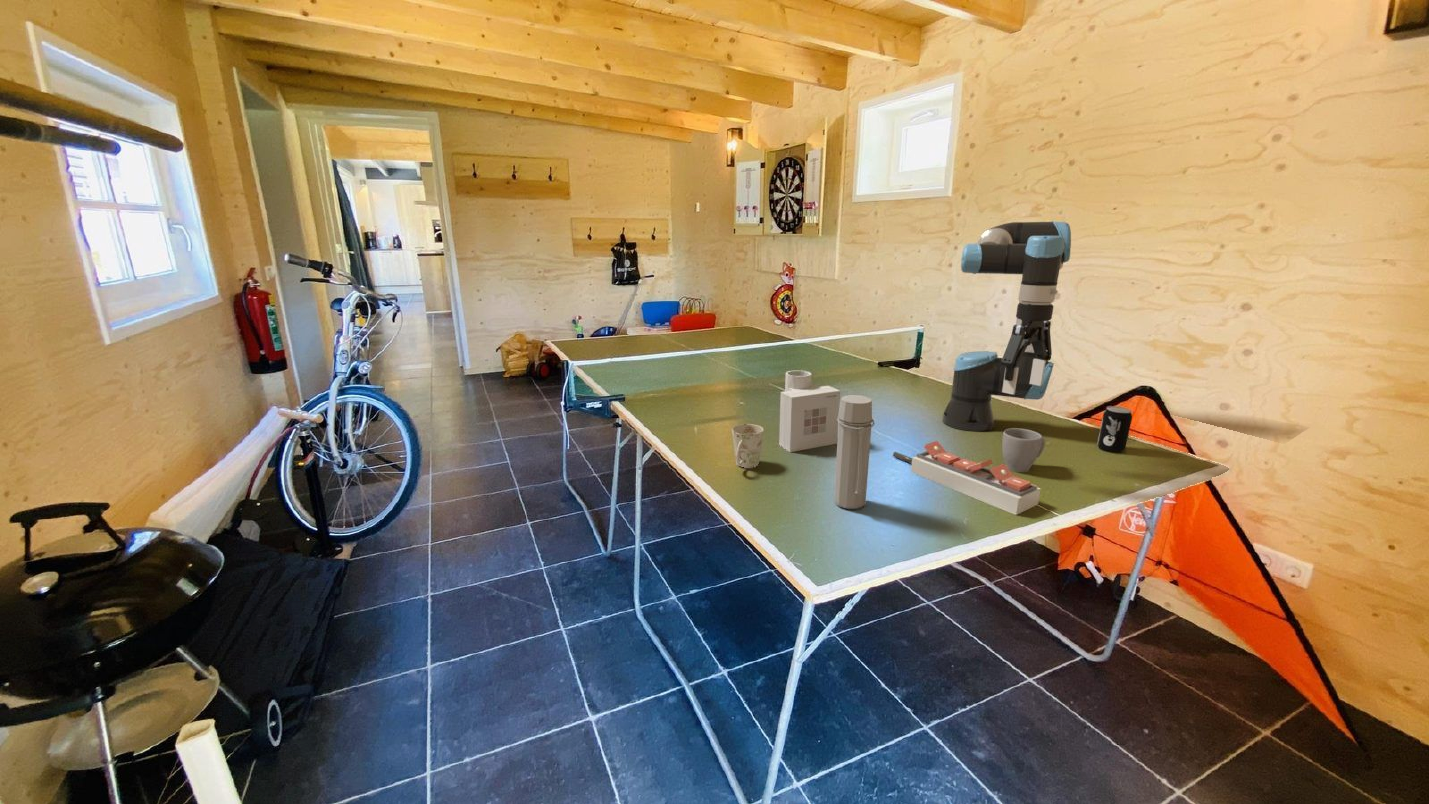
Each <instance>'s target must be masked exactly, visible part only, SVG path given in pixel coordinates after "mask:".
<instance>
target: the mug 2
mask: <svg viewBox="0 0 1429 804" xmlns="http://www.w3.org/2000/svg"><path fill="white" fill-rule="evenodd" d="M1045 445H1046V441H1045V438H1044V437H1043V436H1042V434H1040V433H1039V432H1037V431H1034V430H1031V429H1026V428H1017V427H1013V428H1011V427H1010V428H1006V429H1005V430H1004V431H1003V434H1002V442H1001V446H1002V447H1001V449H1002V457H1003V460H1004V464H1005V466H1006V467H1007V468H1008V469H1009V470H1010V471H1011V472H1016V473H1028V472H1029V471H1030V469H1031V467H1032V466H1033V465H1034V463H1035V461H1037V459H1038V458H1040V456H1041V455H1042V454H1043V451H1044V450H1045Z"/></svg>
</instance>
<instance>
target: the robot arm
mask: <svg viewBox="0 0 1429 804" xmlns="http://www.w3.org/2000/svg"><path fill="white" fill-rule="evenodd" d="M1071 231H1072V230H1071V226H1070V224H1069V223H1068V222H1066V221H1065V222H1064V221H1054V220H1051V221H1020V222H1019V221H1014V222H1013V221H1011V222H1007V223H1002V224H999V225H996V226H993V227H991V228H989V229H987V230H986V231H984V232H983V233H982V234H981V236H980V237H979V239H978V241H977V242H975V243H967V244H965V245H963V249H962V253H961V261H960V269H961V272H962V273H964V274H966V273H967V274H972V275H973V274H974V275H976V274H986V275H987V274H988V275H989V274H995V275H996V274H997V275H998V274H1000V275H1001V274H1003V275H1021V280H1020V281H1021V283H1020V287H1019V293H1018V304H1017V307H1016V315H1015V318H1016V320H1015V324H1013V326H1012V331H1011V335H1010V338H1009V340H1008V343H1007V346H1006V349H1005V351H1004V352H1003V353H1004V354H1003V356H1002V357H999V355H998V353H997V352H995V351H990V350H989V351H988V350H981V351H979V350H978V351H977V350H976V351H968V352H963V353H961V354H959V355H957V357H956V359H955V363H954V366H953V378H952V386H951V394H950V395H951V396H950V399H949V401H948V403H947V405H946V407H945V410H944V412H943V413H942V418H941V419H942V423H943V424H945V425H946V426H947V427H948V426H949V427H951V428H954V429H958V430H963V431H972V432H981V431H982V432H984V431H989V430H991V429H993V428H994V424H995V417H994V412H993V408H992V403H991V401H992V396H999V397H1007V398H1015V399H1023V400H1036V401H1037V400H1041V399H1042V398H1043V397H1044V396H1045V394H1046V391H1047V389H1048V388H1047V387H1048V385H1049V382H1050V380H1051V376H1052V373H1053V368H1054V366H1055V365H1054V364H1055V363H1054V362H1052V361H1051V359H1052V354H1053V352H1052V340H1051V339H1052V337H1051V325H1052V322H1051V320H1052V318H1053V311H1054V305H1053V304H1052V303H1054V302H1055V300H1056V299H1055V298H1056V294H1058V292H1059V291H1058V290H1057V288H1058V281H1059V280H1058V279H1059V274H1060V271H1061V270H1062V269H1063V267H1064V263H1067V262H1069V260H1070V257H1071V248H1072V232H1071Z"/></svg>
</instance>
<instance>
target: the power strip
mask: <svg viewBox="0 0 1429 804" xmlns="http://www.w3.org/2000/svg"><path fill="white" fill-rule="evenodd" d="M892 457H894V458H897V459H900V460H901V461H904V462H905V463H909V464H911V466H910V473H912V474H915V475H916V476H919V477H922V478H924V479H927V480H929V481H932V482H934V483H937V484H939V485H941V486H944V487H945V488H948V489H951V490H954V491H956V492H958V493H960V494H963V495H965V496H967V497H968V496H969V497H970V498H973V499H976V500H978V501H981V502H983V503H985V504H987V505H990V506H992V507H995V508H997V509H1000V510H1003V511H1004V512H1006V513H1010V514H1012V515H1014V516H1017V515H1019V514H1022V513H1023V512H1025V511H1027V510H1029V509H1031V508H1034V507H1035V506H1037V505H1039V500H1040V496H1041V494H1040V493H1041V488H1040V487H1038V486H1037V485H1036V484H1032V483H1031V486H1030V487H1029V488H1026V489H1024V490H1022V491H1020V492H1019V491H1017V490H1014V489H1011V488H1009V487H1006V486H1003V485H1001V484H1000V483H998V482H999V481H998V480H997V479H996V477H995V476H994V475H993V474H992V473H991V471H990V469H989V468H987V467H983V468H982V469H980V470H977V471H975V472H972V473H968V472H965V471H963V470H960V469H958V468H955V467H953V463H952V464H950V465H947V464H944V463H942V462H939V461H936V460H934V459H932V458H931V457H932V456H931V455H930V454H929V453H928V451H927V450H926V451H924V452H920V453H917V454H916V456H913V457H910V456H907V455H905V454H902V453H900V452H897V451H894V452H893V454H892ZM959 460H962V459H961V458H959Z"/></svg>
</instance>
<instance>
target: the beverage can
mask: <svg viewBox="0 0 1429 804" xmlns="http://www.w3.org/2000/svg"><path fill="white" fill-rule="evenodd" d="M1132 420H1133V414H1132V409H1129V407H1128V408H1127V407H1123V406H1118V405H1117V406H1116V405H1113V406H1112V405H1109V406H1106V409H1105V410H1104V411H1103V414H1102V419H1101V423H1100V424H1101V425H1100V428H1099V434H1098V438H1097V443H1096V445H1097V447H1098V449H1099V450H1101V451H1104V452H1107V453H1110V454H1111V453H1114V454H1119V453H1123V452H1124V451H1125V450H1126V448H1127V442H1128V437H1129V433H1130V429H1131V424H1132Z"/></svg>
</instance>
